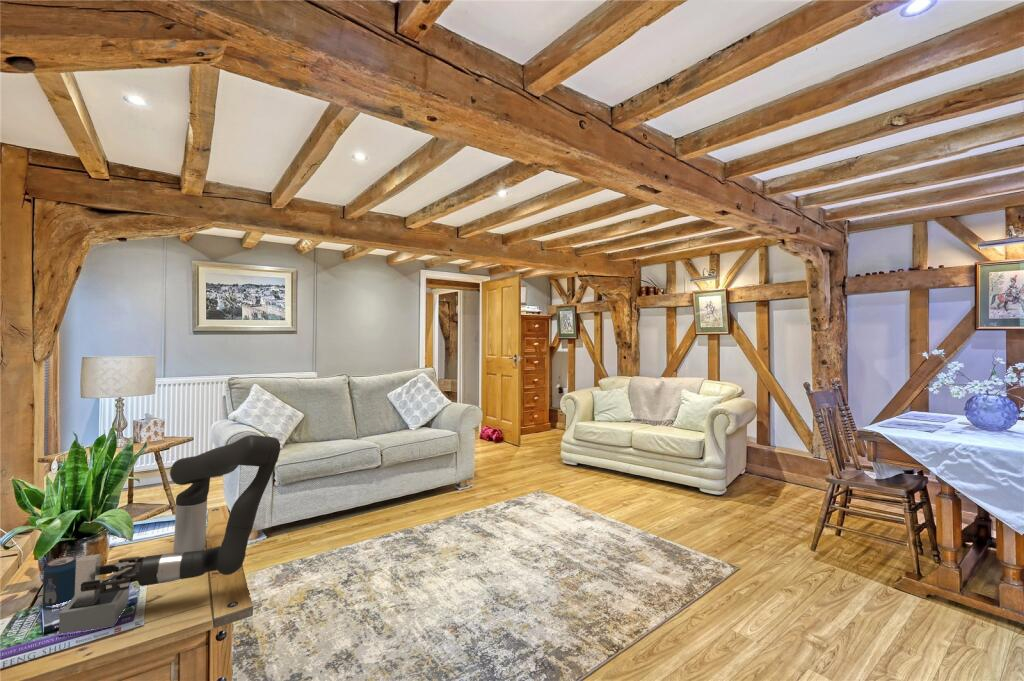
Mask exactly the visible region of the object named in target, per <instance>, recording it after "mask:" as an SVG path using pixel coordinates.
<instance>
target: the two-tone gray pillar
mask: <svg viewBox="0 0 1024 681" xmlns="http://www.w3.org/2000/svg"><path fill="white" fill-rule="evenodd" d="M76 560H77V561H76V575H75V600H74V607H73V609H76V608H82V607H88V606H94V605H99V604H100V598H99V589H97V590H91V591H84V592H82V591H81V584H82V583H83V582H87V581H94V580H100V576H101V575H100V566H101V553H97V554H89V555H82V556H80V557H79V558H78V559H76Z"/></svg>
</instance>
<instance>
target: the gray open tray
mask: <svg viewBox="0 0 1024 681" xmlns="http://www.w3.org/2000/svg"><path fill="white" fill-rule="evenodd" d="M110 588H111V587H110ZM110 588H108V589H110ZM99 598H100V604H99V605H94V606H88V607H82V608H76V609H73V607H74V600H75V596H74V597H73V598H72V599H71V601H70V602H69V603H68V604H67V605H65V606H64V608H63V609H62V610H61V611H60V612H59V619H58V620H59V621H58V635H59V634H61V633H67V632H73V631H74V632H76V631H86V630H91V629H97V628H102V627H103V628H104V627H110V626H114V625H115V623H116V621H117V619H118V618H119V616H120V615H121V613H122V612H123V610H124V609H125V607H126V606H127V604H128V603H129V602H130V588H129V589H126V590H120V591H114V592H109V593H103V594H100V590H99ZM129 604H130V603H129ZM129 604H128V605H129ZM127 607H128V606H127ZM125 610H126V609H125ZM123 613H124V612H123ZM115 626H116V625H115Z"/></svg>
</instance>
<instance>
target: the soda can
mask: <svg viewBox="0 0 1024 681" xmlns="http://www.w3.org/2000/svg"><path fill="white" fill-rule="evenodd" d="M77 560H78V559H76V556H74V555H65V556H59V558H56V559H53V558H52V559H51V560H49V561H48V562H47V564H46V566H45V567H44V568H43V571H44V576H43V575H42V600H41V602H42V605H43V606H44V607H45V606H52V605H56V604H60V603H63V602H66V601H69V600H71V599H72V598H73V597H74V596H75V575H76V561H77Z"/></svg>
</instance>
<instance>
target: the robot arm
mask: <svg viewBox="0 0 1024 681" xmlns="http://www.w3.org/2000/svg"><path fill="white" fill-rule="evenodd" d="M280 454H281V442H280V441H279V439H278V438H277V437H273V436H265V435H258V434H257V435H256V434H251V435H250V434H249V435H246V436H243V437H241V438H240V439H237V440H236V441H234V442H232V443H229V444H225V445H222V446H218V447H216V448H212V449H210V450H208V451H205V452H203V453H200V454H197V455H194V456H189V457H182V458H179V459H177V460H176V461H174V462H173V463H172V465H171V467H170V472H169V475H170V476H169V477H170V478H171V481H172V482H173V483H174V484H176V485H178V486H186V485H190V484H191V485H190V486H189V487H187V488H186V489H185V490H183V491H181V492H180V493H178V494H177V496H176V497H175V515H174V516H175V517H174V538H173V539H174V541H173V552H170V553H161V554H156V555H155V554H154V555H147V556H146V555H145V556H139V557H131V558H130V557H128V558H121V559H119V560H117V561H118V562H114V563H112V564H107V565H106V564H105V565H100V575H99V576H103V575H108V574H109V576H108V577H105V578H101V579H99V580H94V581H87V582H83V583H82V584H81V591H82V592H84V591H91V590H97V589H99V590H100V594H103V593H109V592H114V591H120V590H126V589H129V590H130V584H131V583H136V582H138V584H139V586H140V587H146V586H152V585H157V584H165V583H171V582H175V581H179V580H184V579H191V578H198V577H200V576H203V575H204V574H206V573H209V572H210V573H211V572H212V571H218V573H219V574H221V575H224V576H228V575H232V574H235V573H236V572H237V571H239V570H240V569H241V567H242V566H243V564H244V561H245V558H246V554H247V552H246V550H247V547H248V543H249V542H248V541H249V538H250V535H251V533H252V531H253V528H254V523H255V521H256V517H257V513H258V509H259V505H260V502H261V500H262V497H263V495H264V493H265V491H266V488H267V486H268V484H269V481H270V479H271V477H272V474H273V472H274V469H275V467H276V465H277V462H278V460H279V456H280ZM239 466H244V467H245V466H247V467H258V469H257V472H256V474H255V477H254V478H253V480H252V481H251V482H250V483H249V485H248V486H247V488H245V490H244V491H243V492H242V493H241V494H240V495H239V497H238V498H237V499H236V501H235V502H234V503H233V504H232V507H231V509H230V513H229V516H228V520H227V523H226V527H225V533H224V537H223V540H222V541H221V545H219V546H213V547H210V548H208V549H206V543H207V542H206V540H207V539H206V537H207V518H208V517H207V512H208V495H209V492H210V485H211V484H210V483H211V478H215V477H220V476H224V475H228V474H230V473H233V472H234V471H235V470H236V469H237V468H238V467H239ZM110 587H111V588H110ZM108 588H110V589H108Z"/></svg>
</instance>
